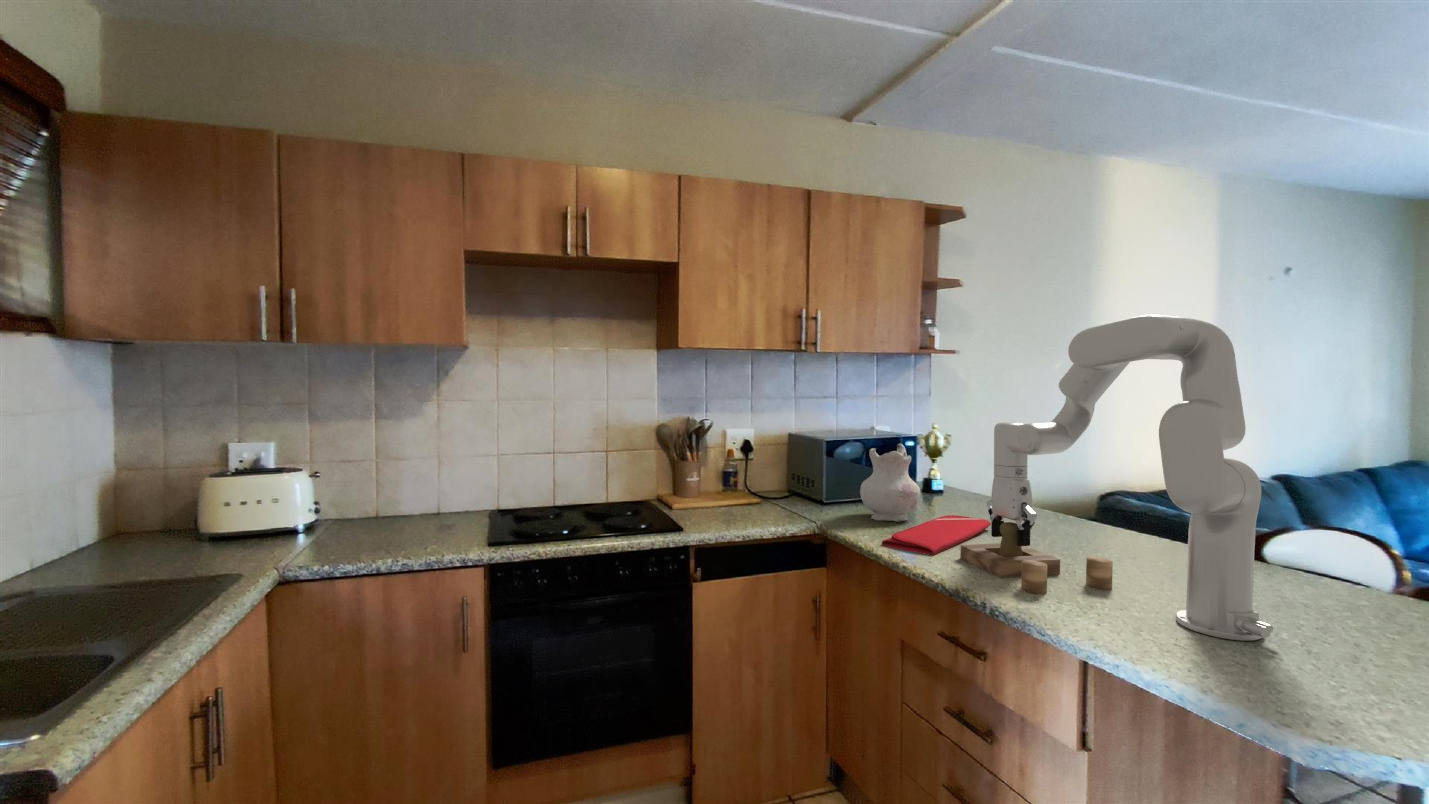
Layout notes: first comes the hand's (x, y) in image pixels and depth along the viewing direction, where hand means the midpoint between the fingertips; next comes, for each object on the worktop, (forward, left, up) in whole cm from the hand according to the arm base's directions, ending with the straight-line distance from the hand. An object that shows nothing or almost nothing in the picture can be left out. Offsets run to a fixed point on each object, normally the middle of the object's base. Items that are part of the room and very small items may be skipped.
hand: (1010, 541), depth 153 cm
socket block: (0, 0, -6) cm, 6 cm away
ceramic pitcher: (+57, +3, -7) cm, 58 cm away
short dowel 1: (-17, +7, -6) cm, 19 cm away
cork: (0, 0, -7) cm, 7 cm away
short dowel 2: (-17, -10, -6) cm, 21 cm away
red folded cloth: (+30, +1, -7) cm, 31 cm away
